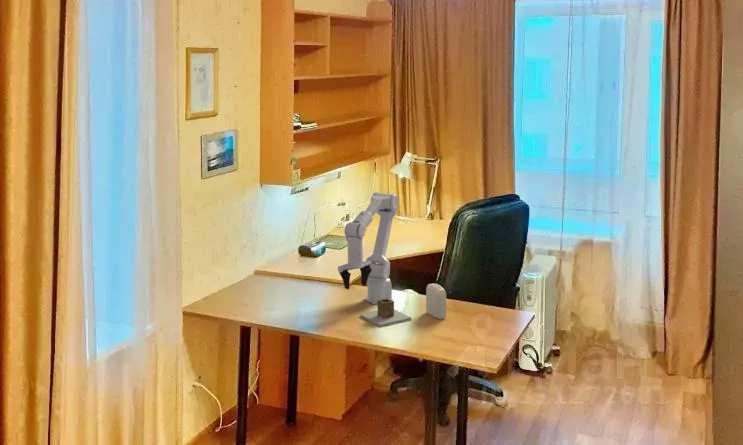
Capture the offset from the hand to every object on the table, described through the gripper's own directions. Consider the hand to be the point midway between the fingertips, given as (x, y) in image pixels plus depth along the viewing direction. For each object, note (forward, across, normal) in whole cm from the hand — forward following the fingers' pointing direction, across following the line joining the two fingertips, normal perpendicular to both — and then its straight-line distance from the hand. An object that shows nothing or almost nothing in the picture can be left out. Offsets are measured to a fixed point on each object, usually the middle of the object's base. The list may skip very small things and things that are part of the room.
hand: (355, 287), depth 326 cm
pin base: (+10, +6, -12) cm, 17 cm away
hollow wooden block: (+9, +6, -12) cm, 16 cm away
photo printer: (+11, +24, -20) cm, 33 cm away
